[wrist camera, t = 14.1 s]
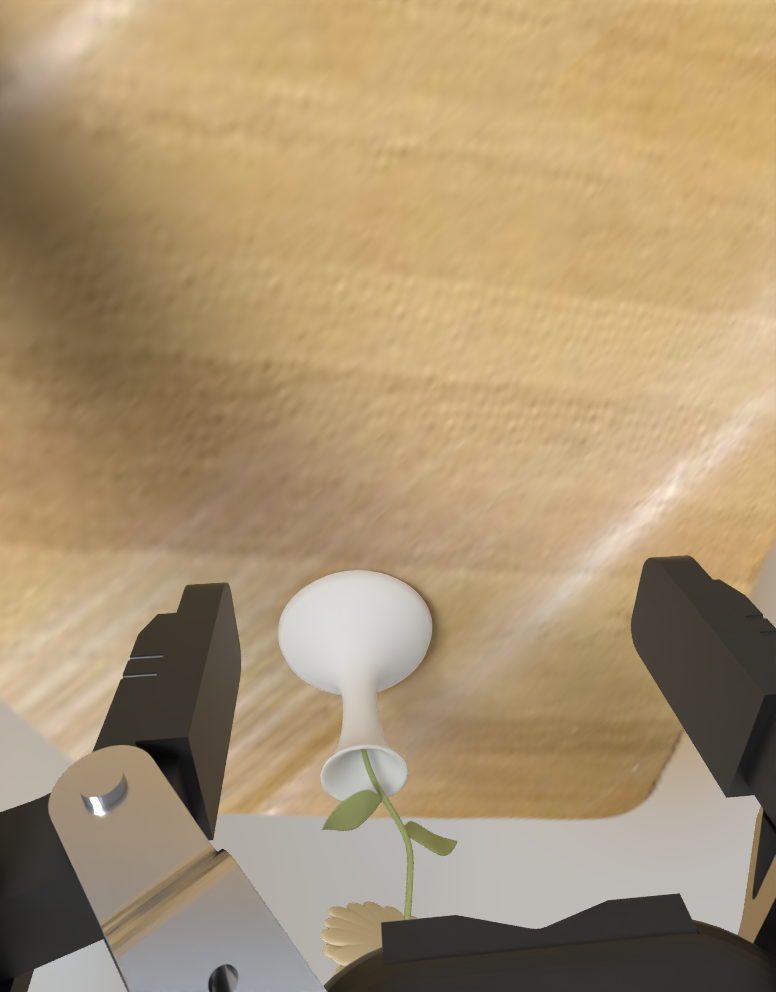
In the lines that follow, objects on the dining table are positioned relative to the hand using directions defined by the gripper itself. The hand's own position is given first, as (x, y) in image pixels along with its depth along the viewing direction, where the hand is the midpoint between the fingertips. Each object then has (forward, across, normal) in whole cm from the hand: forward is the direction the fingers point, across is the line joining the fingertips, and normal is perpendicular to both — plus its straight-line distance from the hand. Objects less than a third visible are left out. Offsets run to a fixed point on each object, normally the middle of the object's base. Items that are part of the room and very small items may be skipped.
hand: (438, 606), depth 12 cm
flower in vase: (+28, +1, +24) cm, 37 cm away
